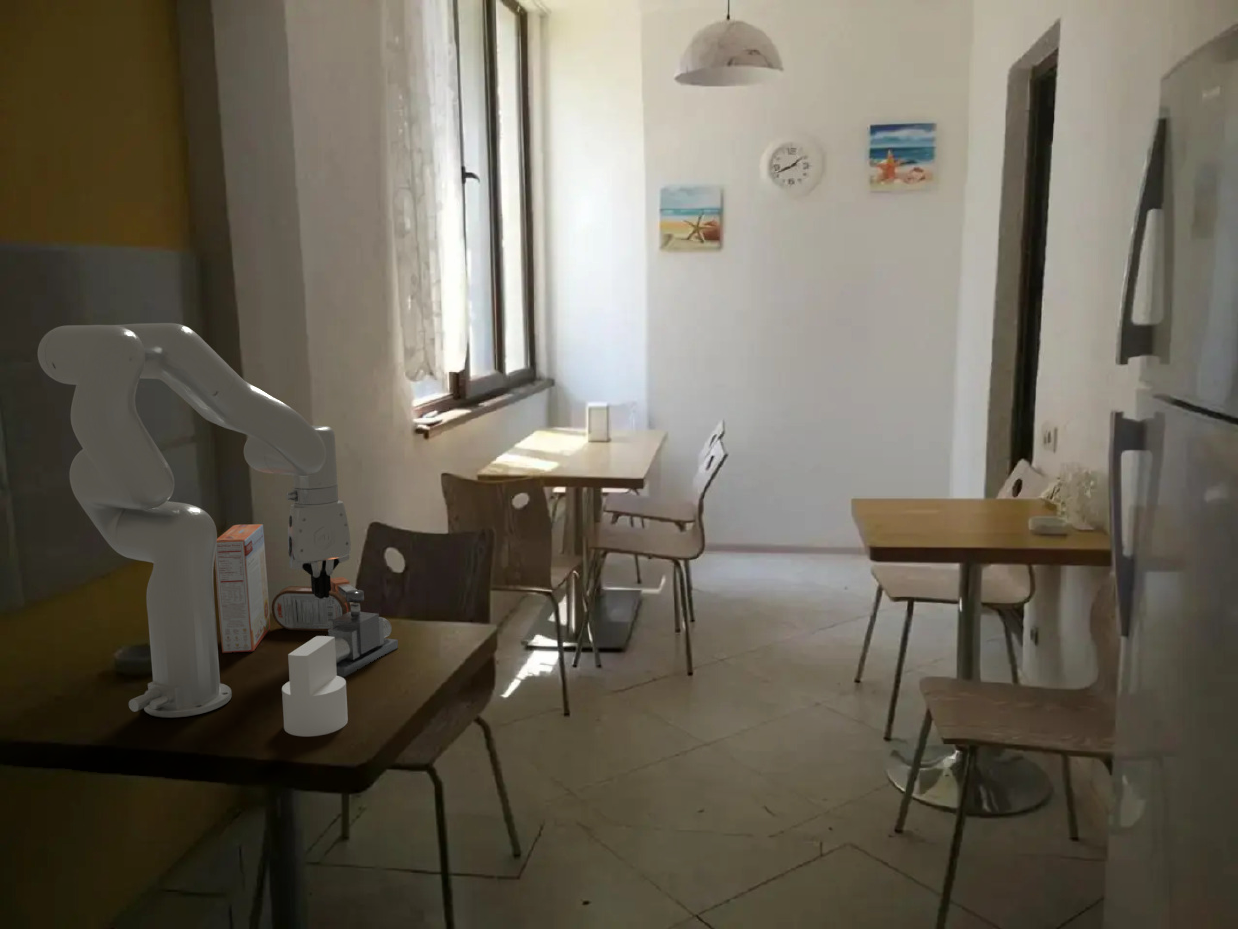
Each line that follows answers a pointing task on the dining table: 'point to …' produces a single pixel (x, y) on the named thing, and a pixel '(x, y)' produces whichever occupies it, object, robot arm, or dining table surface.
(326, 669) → the base with upright slab
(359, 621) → the valve body
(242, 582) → the cracker box
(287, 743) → the dining table surface
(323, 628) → the tin
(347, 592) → the lever
